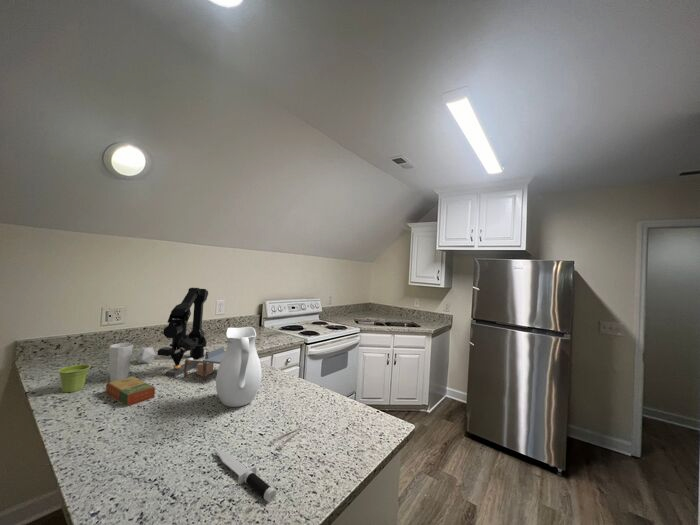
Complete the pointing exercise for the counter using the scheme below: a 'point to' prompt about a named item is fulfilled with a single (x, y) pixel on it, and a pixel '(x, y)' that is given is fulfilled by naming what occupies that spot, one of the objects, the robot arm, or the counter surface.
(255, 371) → the pitcher
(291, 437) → the tweezers
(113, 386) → the carton
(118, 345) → the cup
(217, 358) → the lid
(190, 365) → the console
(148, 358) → the die
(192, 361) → the frame
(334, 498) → the counter surface
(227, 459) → the knife
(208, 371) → the block
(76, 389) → the plant pot
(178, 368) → the orange button
